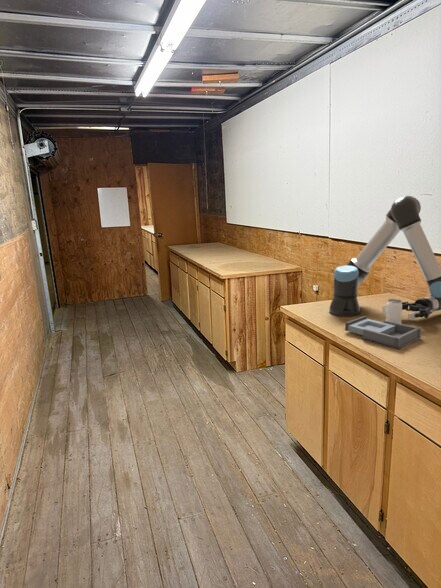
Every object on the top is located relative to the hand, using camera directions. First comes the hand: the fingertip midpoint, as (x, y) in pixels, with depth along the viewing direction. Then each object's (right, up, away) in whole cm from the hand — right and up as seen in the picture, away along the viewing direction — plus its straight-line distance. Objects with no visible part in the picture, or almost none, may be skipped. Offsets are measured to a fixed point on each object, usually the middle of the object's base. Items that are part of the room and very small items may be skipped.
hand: (395, 312), depth 177 cm
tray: (-14, -7, -6) cm, 17 cm away
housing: (-8, -10, -14) cm, 19 cm away
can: (0, -6, +2) cm, 7 cm away
